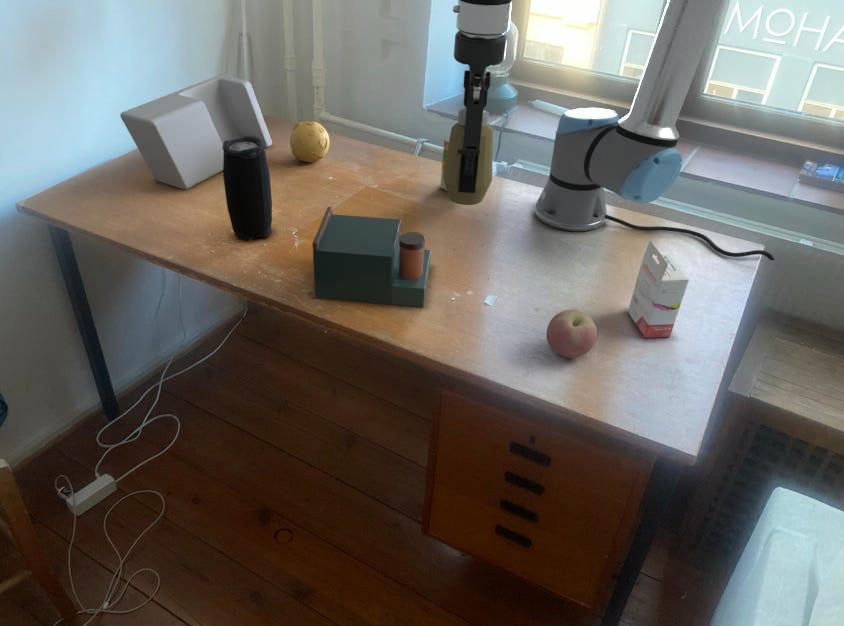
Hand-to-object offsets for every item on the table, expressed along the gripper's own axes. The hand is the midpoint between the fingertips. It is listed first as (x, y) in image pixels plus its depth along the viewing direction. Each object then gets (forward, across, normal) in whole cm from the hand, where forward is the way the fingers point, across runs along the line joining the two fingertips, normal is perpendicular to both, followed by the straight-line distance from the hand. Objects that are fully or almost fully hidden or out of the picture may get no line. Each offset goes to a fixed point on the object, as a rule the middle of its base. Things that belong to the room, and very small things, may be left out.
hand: (467, 180), depth 116 cm
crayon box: (+23, -45, -2) cm, 51 cm away
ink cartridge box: (+23, +3, +34) cm, 42 cm away
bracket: (+24, -50, -63) cm, 84 cm away
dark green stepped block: (+23, -4, -16) cm, 28 cm away
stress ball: (+24, -58, -39) cm, 74 cm away
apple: (+24, +14, +19) cm, 33 cm away
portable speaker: (+24, -19, -43) cm, 53 cm away
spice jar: (+19, -1, -9) cm, 21 cm away
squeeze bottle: (+3, 0, 0) cm, 3 cm away
